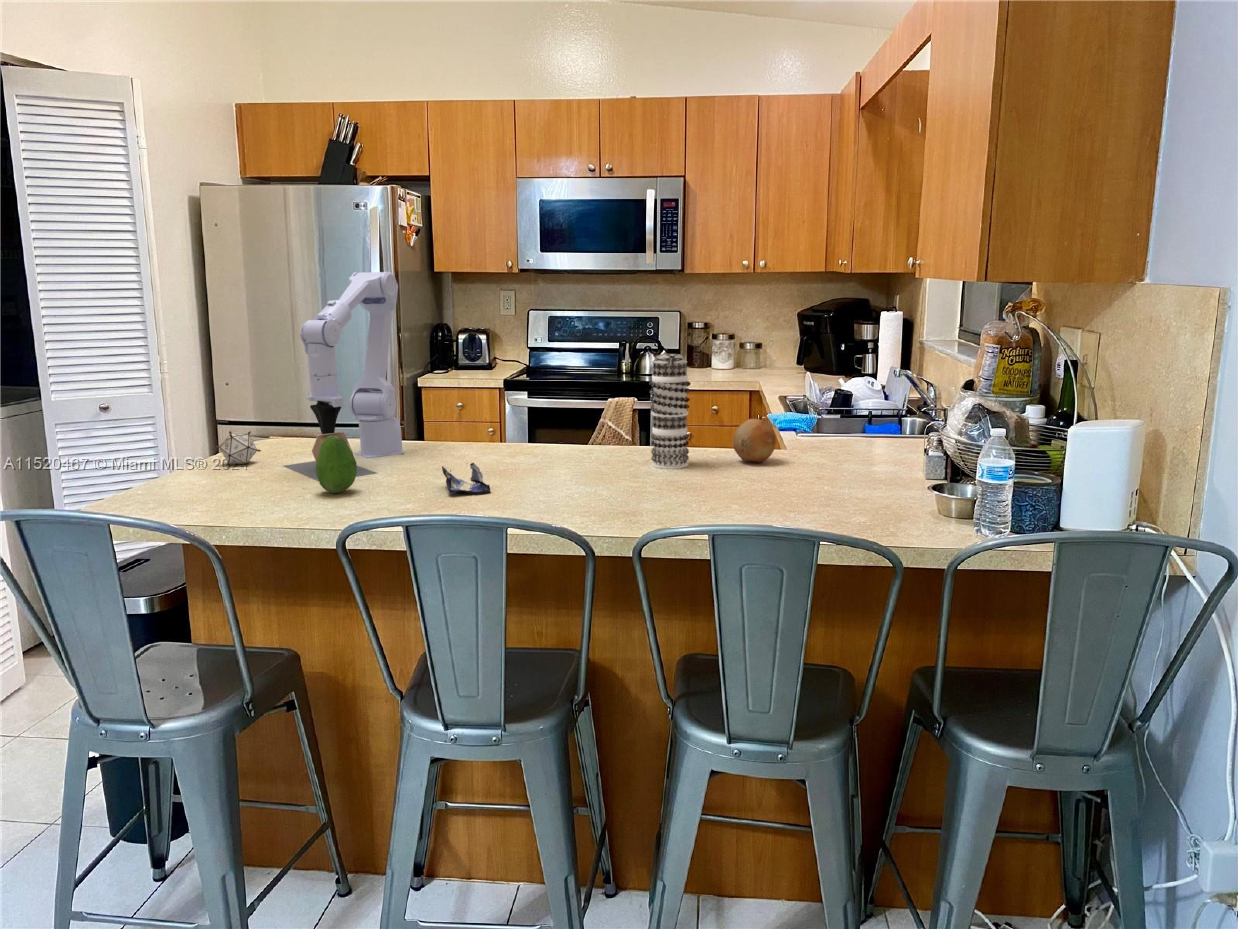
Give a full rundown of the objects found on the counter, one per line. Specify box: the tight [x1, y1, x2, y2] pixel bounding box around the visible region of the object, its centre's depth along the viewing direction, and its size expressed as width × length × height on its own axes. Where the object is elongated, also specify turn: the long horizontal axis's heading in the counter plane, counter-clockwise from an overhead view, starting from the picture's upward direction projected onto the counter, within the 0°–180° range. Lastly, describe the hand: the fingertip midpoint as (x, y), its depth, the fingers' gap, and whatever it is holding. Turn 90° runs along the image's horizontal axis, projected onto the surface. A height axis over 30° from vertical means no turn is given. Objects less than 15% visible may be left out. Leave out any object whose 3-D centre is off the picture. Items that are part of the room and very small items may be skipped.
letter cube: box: [311, 431, 354, 462], centre depth 202 cm, size 6×6×6 cm
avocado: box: [316, 435, 358, 494], centre depth 183 cm, size 8×8×12 cm
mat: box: [282, 460, 378, 482], centre depth 205 cm, size 13×23×1 cm, turn 40°
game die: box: [215, 430, 262, 467], centre depth 211 cm, size 9×8×10 cm
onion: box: [732, 418, 777, 464], centre depth 207 cm, size 10×10×10 cm
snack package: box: [441, 462, 491, 496], centre depth 185 cm, size 12×6×12 cm
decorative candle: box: [648, 353, 692, 470], centre depth 204 cm, size 9×9×25 cm
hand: (328, 435), depth 202 cm, fingers closed
